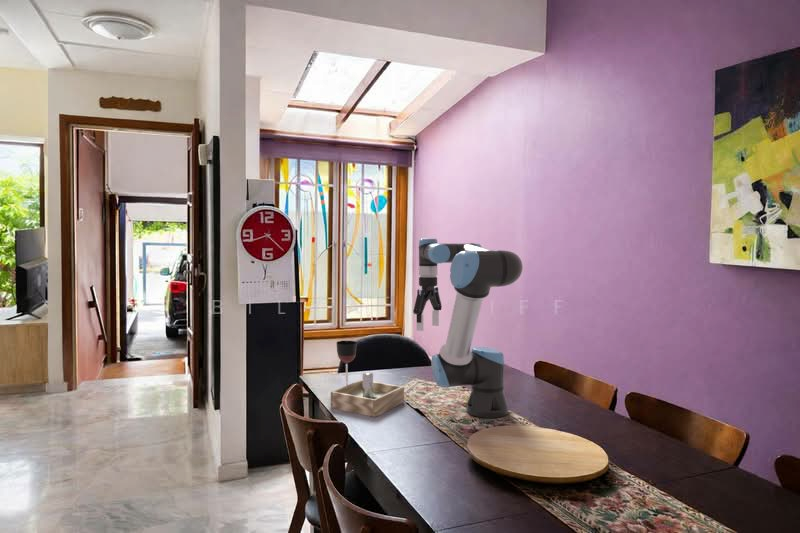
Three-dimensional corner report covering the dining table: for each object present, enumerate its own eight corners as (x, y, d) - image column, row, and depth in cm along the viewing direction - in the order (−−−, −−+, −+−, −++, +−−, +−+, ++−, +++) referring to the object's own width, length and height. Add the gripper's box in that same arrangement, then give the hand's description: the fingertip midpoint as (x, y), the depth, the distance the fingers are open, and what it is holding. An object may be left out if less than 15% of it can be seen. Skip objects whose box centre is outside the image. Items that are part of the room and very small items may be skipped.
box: (403, 402, 204) (403, 386, 204) (375, 416, 187) (375, 400, 187) (361, 394, 215) (361, 379, 214) (330, 407, 198) (330, 391, 197)
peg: (375, 404, 202) (375, 373, 201) (369, 407, 198) (369, 375, 198) (366, 402, 204) (366, 371, 203) (360, 405, 200) (360, 374, 200)
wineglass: (348, 393, 215) (347, 345, 214) (332, 390, 221) (332, 342, 219) (360, 389, 222) (360, 342, 221) (345, 385, 227) (345, 339, 226)
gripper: (434, 274, 227) (433, 323, 228) (404, 277, 206) (404, 331, 207) (449, 274, 223) (449, 324, 224) (421, 278, 202) (421, 333, 203)
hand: (427, 328), depth 216 cm, fingers open, 13 cm apart
